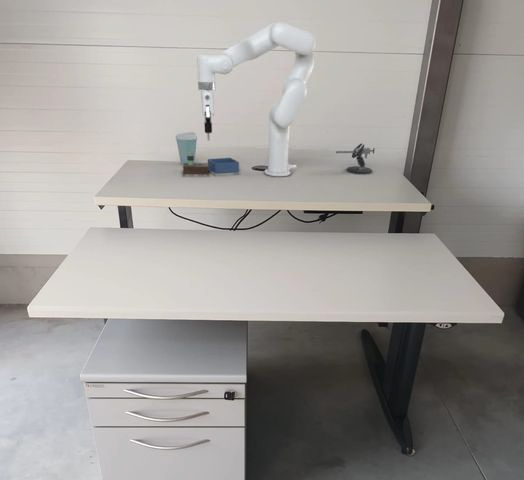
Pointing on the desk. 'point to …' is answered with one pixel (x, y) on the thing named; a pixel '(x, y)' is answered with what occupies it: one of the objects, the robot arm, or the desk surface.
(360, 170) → the gun turret
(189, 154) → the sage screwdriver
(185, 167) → the rack
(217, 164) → the tote
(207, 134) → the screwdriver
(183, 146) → the cup of blue liquid
